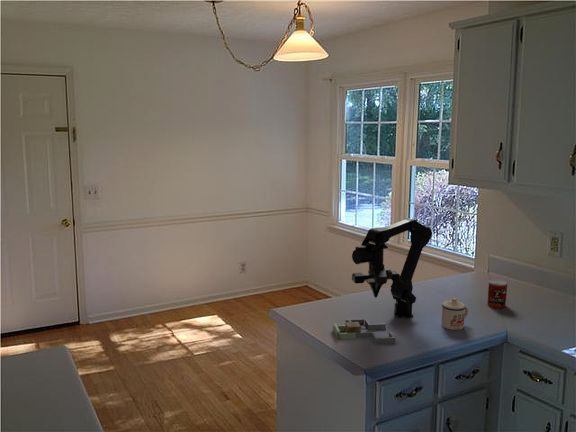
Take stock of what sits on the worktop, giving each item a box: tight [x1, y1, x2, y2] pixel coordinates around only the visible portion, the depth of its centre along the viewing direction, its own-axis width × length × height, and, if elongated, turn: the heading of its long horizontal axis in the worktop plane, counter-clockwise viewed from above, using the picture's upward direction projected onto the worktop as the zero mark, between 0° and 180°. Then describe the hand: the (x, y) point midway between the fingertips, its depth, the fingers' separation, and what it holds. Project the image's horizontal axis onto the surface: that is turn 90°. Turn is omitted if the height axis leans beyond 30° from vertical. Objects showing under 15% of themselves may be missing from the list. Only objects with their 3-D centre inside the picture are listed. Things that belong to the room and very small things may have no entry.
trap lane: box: [332, 318, 396, 345], centre depth 210 cm, size 21×20×3 cm
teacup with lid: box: [441, 297, 469, 331], centre depth 218 cm, size 12×9×12 cm
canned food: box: [487, 279, 508, 309], centre depth 241 cm, size 8×8×11 cm
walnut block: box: [344, 321, 362, 333], centre depth 210 cm, size 5×5×4 cm
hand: (375, 297), depth 220 cm, fingers closed
